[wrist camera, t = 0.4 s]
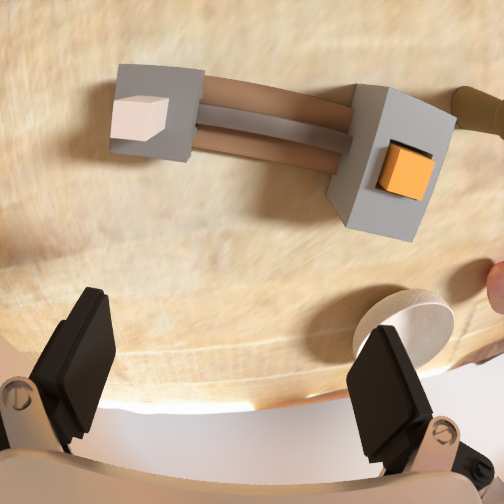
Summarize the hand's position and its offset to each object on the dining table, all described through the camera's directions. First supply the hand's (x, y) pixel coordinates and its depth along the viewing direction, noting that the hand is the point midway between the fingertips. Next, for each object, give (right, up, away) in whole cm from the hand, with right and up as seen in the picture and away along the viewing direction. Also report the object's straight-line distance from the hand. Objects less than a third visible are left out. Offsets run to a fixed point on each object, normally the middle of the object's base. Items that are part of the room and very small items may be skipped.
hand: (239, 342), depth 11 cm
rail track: (-1, +18, +22) cm, 29 cm away
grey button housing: (+15, +15, +24) cm, 32 cm away
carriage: (-9, +18, +20) cm, 28 cm away
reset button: (+15, +12, +18) cm, 26 cm away
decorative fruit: (+43, 0, +34) cm, 54 cm away
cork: (+28, +22, +21) cm, 41 cm away
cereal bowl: (+24, -7, +38) cm, 45 cm away
